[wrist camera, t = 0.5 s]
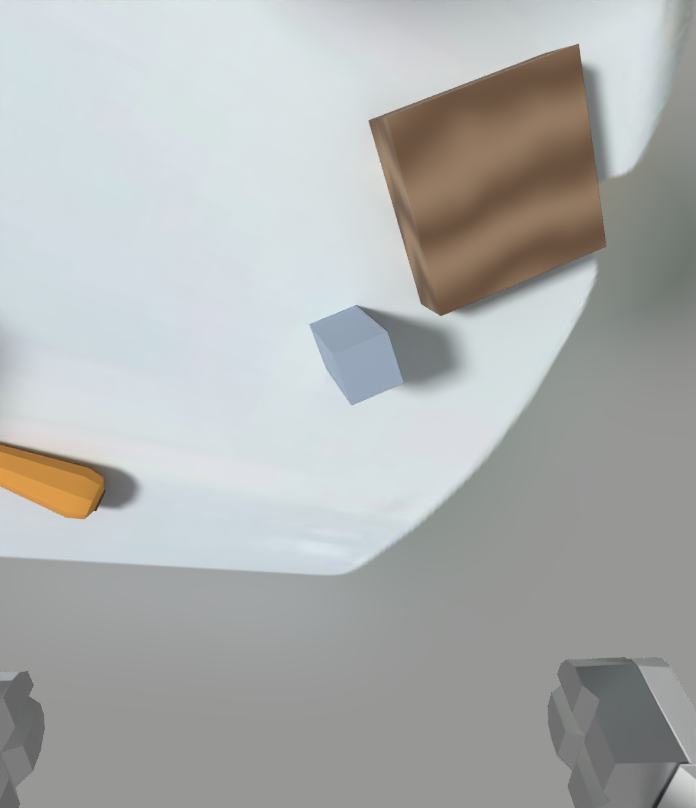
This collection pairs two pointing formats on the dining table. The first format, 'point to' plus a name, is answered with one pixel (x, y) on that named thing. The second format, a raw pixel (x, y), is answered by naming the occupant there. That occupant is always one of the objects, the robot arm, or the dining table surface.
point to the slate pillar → (357, 354)
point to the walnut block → (493, 179)
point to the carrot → (51, 482)
